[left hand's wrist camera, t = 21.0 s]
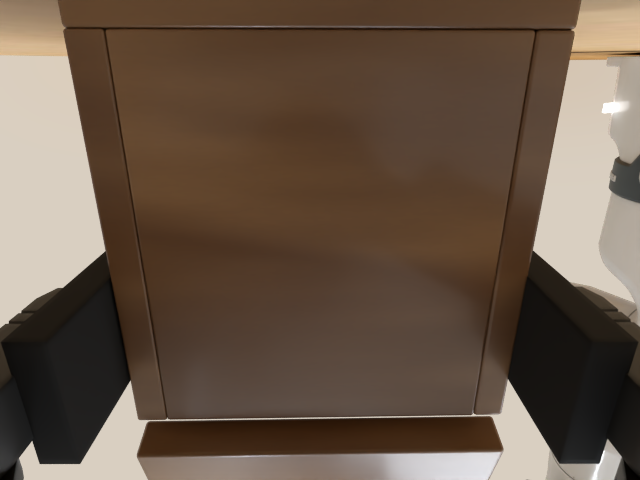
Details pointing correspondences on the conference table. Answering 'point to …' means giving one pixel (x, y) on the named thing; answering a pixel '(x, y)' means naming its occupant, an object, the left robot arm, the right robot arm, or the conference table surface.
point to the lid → (322, 449)
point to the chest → (318, 195)
